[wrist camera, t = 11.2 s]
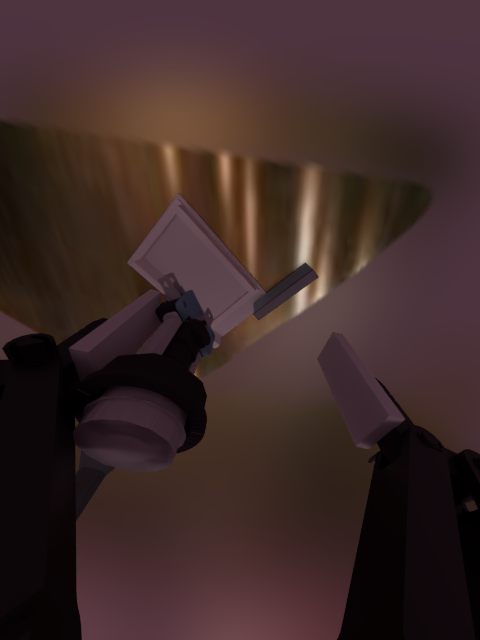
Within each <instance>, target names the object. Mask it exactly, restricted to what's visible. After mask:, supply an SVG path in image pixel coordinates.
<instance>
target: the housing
mask: <svg viewBox="0 0 480 640" xmlns="http://www.w3.org/2000/svg"><path fill="white" fill-rule="evenodd" d="M127 263H128V264H129V265H130V266H131V267H132V268H134V269H135V270H136V271H137V272H138V273H139V274H140V275H142V276H143V277H144V278H145V279H146V280H147V281H149V282H150V283H151V284H152V285H153V286H154V287H156V288H157V289H158V290H159V291H160V292H161V293H163V294H165V292H164V290H163V288H162V286H161V285H160V283H159V281H158V279H159V278H162V277H164V275H166V274H168V273H171V272H172V273H174V275H175V277H176V279H177V281H178V283H179V285H180V286H181V285H182V286H183V288H184V290H185V292H186V291H189V290H193V292H194V294H195V296H196V298H197V300H198V302H199V304H200V306H201V308H202V310H203V312H204V314H205V312H206V309H207V308H209V309H210V311H211V313H212V315H213V322H212V325H210V326H211V329H212V330H213V332H214V334H215V340H214V343H213V346H212V347H213V348H217V347H218V346H220V341H221V337H222V336H224V335H225V334H226V333H228V332H229V331H230V330H232V329H233V328H234V327H236V326H237V325H238V324H240V323H241V322H242V321H244V320H245V319H246V318H248V317H249V316H250V315H252V314H253V313H254V305H253V303H254V302H256V301H257V300H258V299H259V298H261V297H262V296H263V295H265V294H266V293H267V292H266V291H265V290H264V289H263V288H262V287H261V285H260V284H259V283H258V282H257V281H256V280H255V279H254V278H253V276H252V275H251V274H250V273H249V272H248V271H247V270H246V268H245V267H244V266H243V265H242V264H241V263H240V262H239V260H238V259H237V258H236V257H235V256H234V255H233V254H232V252H231V251H230V250H229V249H228V248H227V247H226V246H225V245H224V243H223V242H222V241H221V240H220V239H219V238H218V237H217V235H216V234H215V233H214V232H213V231H212V230H211V229H210V227H209V226H208V225H207V224H206V223H205V222H204V221H203V219H202V218H201V217H200V216H199V215H198V214H197V213H196V211H195V210H194V209H193V208H192V207H191V206H190V205H189V204H188V202H187V201H186V200H185V199H184V198H183V197H182V196H181V194H180V193H178V195H177V196H176V197H175V199H174V200H173V201H172V203H171V204H170V205H169V207H168V208H167V210H166V211H165V212H164V214H163V215H162V216H161V218H160V219H159V220H158V222H157V223H156V224H155V226H154V227H153V228H152V230H151V231H150V232H149V234H148V235H147V236H146V238H145V239H144V240H143V242H142V243H141V244H140V246H139V247H138V248H137V250H136V251H135V252H134V254H133V255H132V256H131V258H130V259H129V261H128V262H127ZM170 280H171V282H172V283H173V282H174V279H173V278H170ZM164 286H166V287H169V286H168V284H167V282H166V281H165V282H164ZM209 317H210V314H209Z"/></svg>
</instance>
